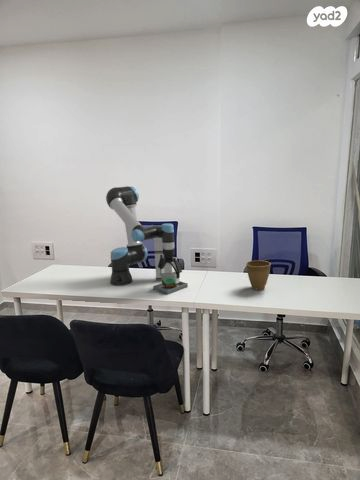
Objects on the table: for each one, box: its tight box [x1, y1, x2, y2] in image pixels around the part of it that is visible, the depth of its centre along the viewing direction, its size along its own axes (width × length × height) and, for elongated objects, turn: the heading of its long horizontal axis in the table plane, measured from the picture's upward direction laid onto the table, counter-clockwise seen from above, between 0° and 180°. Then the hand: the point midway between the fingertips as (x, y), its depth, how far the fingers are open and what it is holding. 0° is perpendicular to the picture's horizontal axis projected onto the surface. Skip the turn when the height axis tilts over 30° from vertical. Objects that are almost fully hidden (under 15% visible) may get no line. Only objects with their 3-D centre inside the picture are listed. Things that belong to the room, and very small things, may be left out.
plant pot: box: [245, 260, 272, 291], centre depth 213 cm, size 15×15×16 cm
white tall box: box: [153, 238, 175, 282], centre depth 237 cm, size 11×11×35 cm
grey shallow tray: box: [152, 280, 189, 296], centre depth 220 cm, size 14×18×2 cm
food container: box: [160, 272, 177, 289], centre depth 218 cm, size 12×6×10 cm, turn 106°
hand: (170, 280), depth 219 cm, fingers open, 13 cm apart
